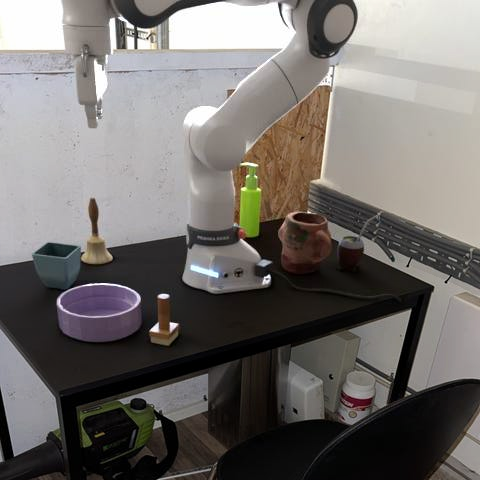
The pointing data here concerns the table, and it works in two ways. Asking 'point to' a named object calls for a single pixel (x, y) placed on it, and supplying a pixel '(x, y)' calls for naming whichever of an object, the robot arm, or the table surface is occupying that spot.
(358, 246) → the mate gourd
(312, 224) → the decorative planter
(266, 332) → the table surface
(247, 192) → the soap dispenser
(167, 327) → the brush
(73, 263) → the flower pot
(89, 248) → the hand bell
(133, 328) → the bowl
